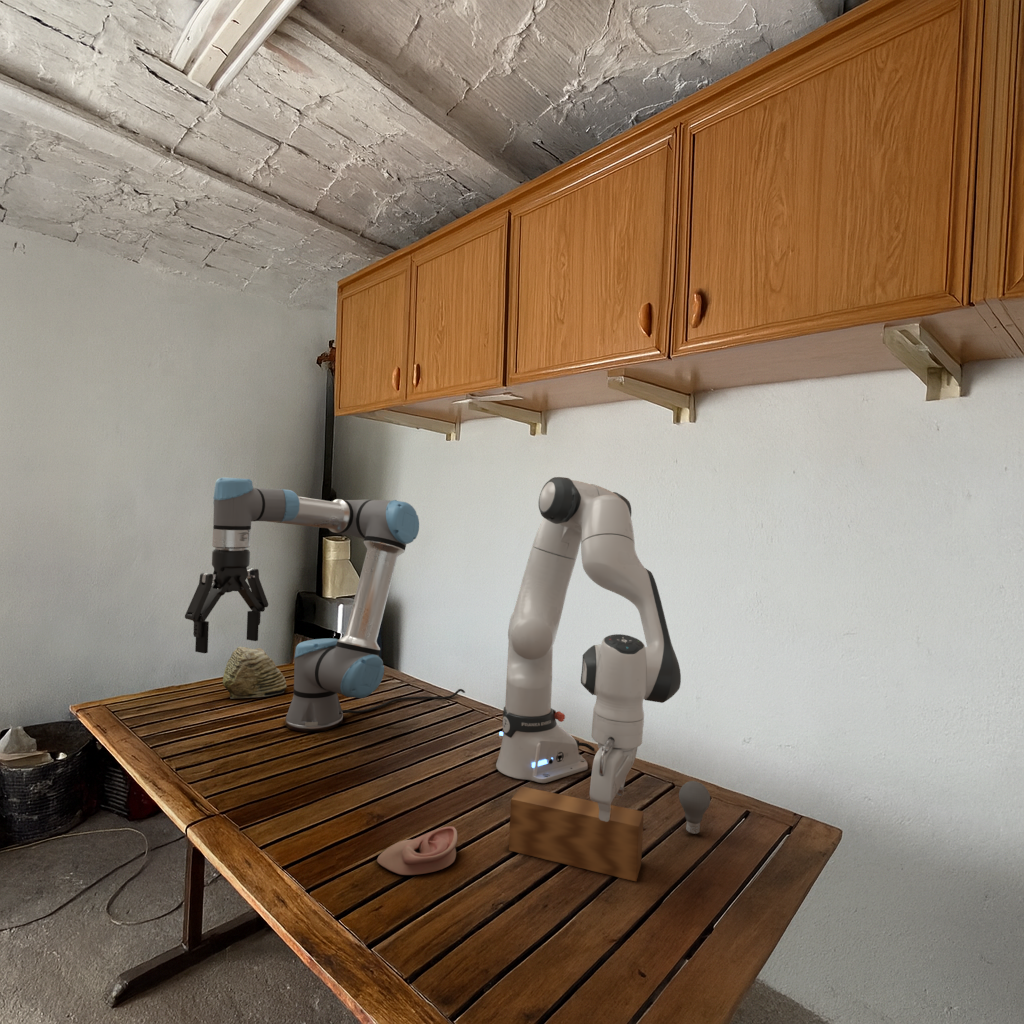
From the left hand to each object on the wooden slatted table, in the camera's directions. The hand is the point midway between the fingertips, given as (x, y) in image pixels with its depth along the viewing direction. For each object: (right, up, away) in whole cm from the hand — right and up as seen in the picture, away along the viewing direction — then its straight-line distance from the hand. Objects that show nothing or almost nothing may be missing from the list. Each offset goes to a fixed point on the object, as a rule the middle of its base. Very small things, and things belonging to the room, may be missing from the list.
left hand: (227, 646), depth 138 cm
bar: (+73, -34, -23) cm, 84 cm away
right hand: (+79, -23, -26) cm, 87 cm away
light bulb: (+98, -35, -13) cm, 105 cm away
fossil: (-19, -28, +60) cm, 69 cm away
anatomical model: (+45, -32, -26) cm, 61 cm away
